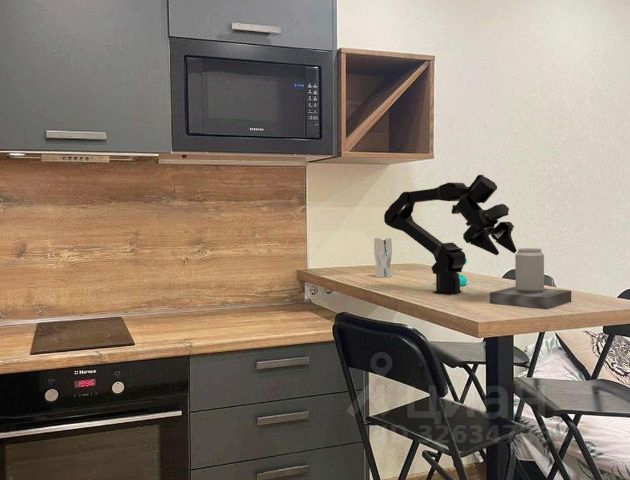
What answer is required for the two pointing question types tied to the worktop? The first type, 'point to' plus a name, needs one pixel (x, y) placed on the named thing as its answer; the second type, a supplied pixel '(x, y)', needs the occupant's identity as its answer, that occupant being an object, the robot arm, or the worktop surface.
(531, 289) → the can
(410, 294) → the worktop surface
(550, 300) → the plinth
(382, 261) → the white piece
